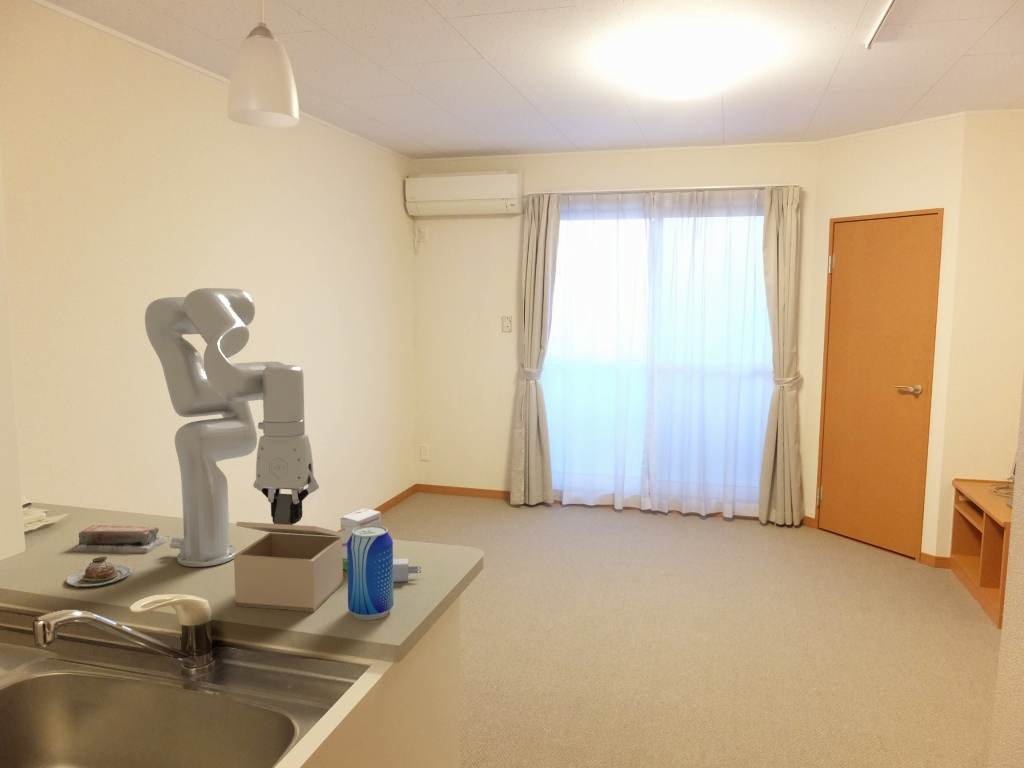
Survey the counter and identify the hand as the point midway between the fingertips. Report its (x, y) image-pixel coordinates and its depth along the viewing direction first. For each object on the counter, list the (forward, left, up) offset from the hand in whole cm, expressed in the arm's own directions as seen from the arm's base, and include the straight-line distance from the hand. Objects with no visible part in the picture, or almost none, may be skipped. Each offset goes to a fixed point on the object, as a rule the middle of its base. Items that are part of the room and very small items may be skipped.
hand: (287, 520), depth 141 cm
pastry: (-44, +2, -16) cm, 47 cm away
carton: (0, +1, -16) cm, 16 cm away
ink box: (+8, +19, -16) cm, 26 cm away
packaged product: (-53, +21, -16) cm, 59 cm away
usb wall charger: (+20, +13, -16) cm, 28 cm away
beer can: (+18, -4, -16) cm, 25 cm away
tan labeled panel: (0, +2, -3) cm, 3 cm away
